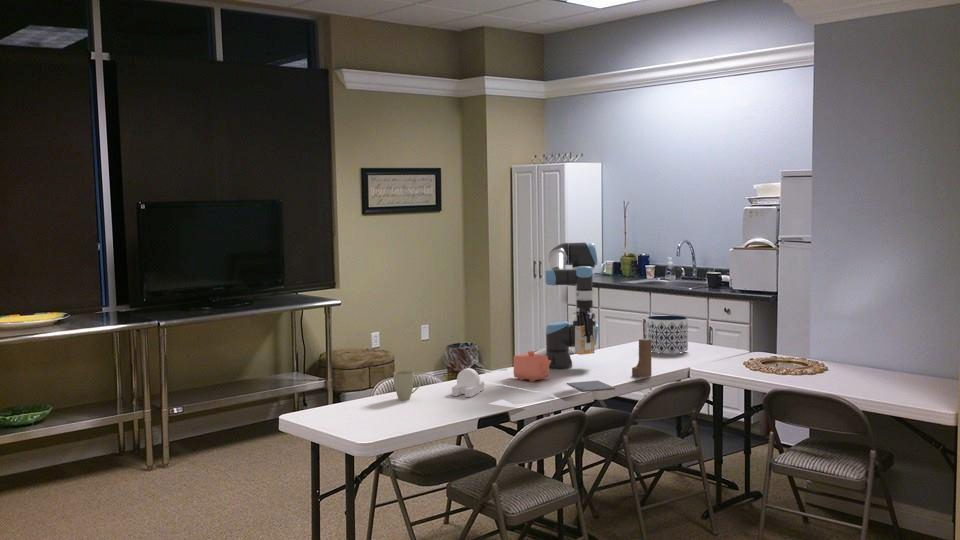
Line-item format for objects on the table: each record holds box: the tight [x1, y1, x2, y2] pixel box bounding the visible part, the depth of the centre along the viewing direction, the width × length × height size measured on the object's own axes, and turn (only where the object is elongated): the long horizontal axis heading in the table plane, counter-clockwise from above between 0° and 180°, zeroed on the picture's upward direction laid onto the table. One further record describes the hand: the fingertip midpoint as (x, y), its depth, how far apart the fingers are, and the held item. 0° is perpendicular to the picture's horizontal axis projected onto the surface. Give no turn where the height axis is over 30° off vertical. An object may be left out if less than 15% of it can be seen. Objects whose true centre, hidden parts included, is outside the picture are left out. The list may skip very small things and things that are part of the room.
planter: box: [646, 314, 689, 354], centre depth 489 cm, size 22×22×20 cm
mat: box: [566, 380, 616, 393], centre depth 401 cm, size 18×16×1 cm
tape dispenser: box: [451, 367, 485, 398], centre depth 394 cm, size 10×18×11 cm, turn 160°
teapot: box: [513, 350, 551, 383], centre depth 417 cm, size 22×13×14 cm, turn 47°
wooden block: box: [631, 338, 652, 378], centre depth 423 cm, size 9×4×18 cm, turn 123°
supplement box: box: [574, 326, 595, 356], centre depth 405 cm, size 8×5×13 cm, turn 117°
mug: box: [393, 370, 423, 401], centre depth 380 cm, size 11×10×12 cm
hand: (584, 348), depth 405 cm, fingers closed on supplement box, 5 cm apart
